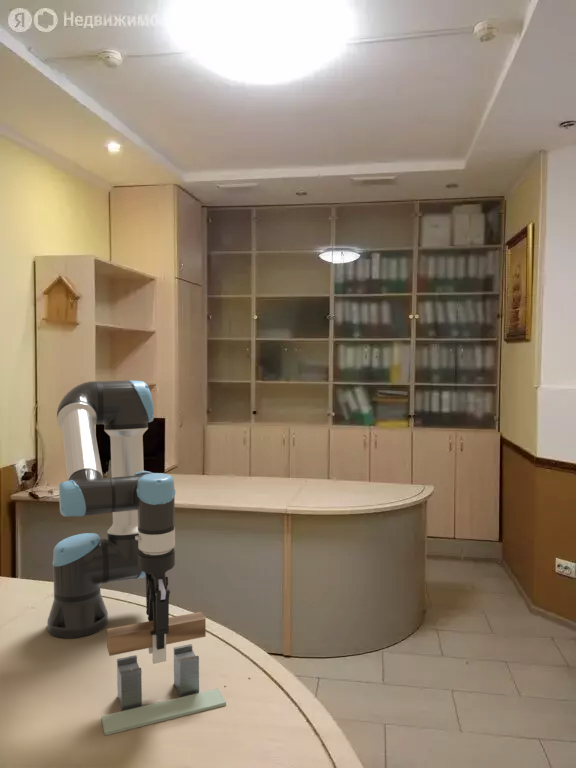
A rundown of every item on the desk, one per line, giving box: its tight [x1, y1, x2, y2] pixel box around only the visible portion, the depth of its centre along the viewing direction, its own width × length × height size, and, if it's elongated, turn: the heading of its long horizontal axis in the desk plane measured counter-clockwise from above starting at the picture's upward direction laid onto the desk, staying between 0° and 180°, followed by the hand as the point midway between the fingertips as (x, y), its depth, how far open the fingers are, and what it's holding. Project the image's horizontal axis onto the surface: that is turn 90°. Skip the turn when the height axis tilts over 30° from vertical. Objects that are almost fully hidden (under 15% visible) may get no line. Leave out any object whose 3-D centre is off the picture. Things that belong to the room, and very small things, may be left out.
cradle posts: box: [116, 643, 200, 712], centre depth 126 cm, size 6×16×8 cm, turn 114°
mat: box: [101, 688, 227, 736], centre depth 120 cm, size 6×24×1 cm, turn 114°
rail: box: [106, 611, 207, 657], centre depth 126 cm, size 4×20×4 cm, turn 114°
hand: (157, 656), depth 126 cm, fingers closed on rail, 3 cm apart
